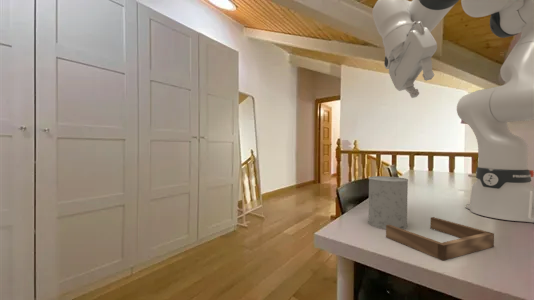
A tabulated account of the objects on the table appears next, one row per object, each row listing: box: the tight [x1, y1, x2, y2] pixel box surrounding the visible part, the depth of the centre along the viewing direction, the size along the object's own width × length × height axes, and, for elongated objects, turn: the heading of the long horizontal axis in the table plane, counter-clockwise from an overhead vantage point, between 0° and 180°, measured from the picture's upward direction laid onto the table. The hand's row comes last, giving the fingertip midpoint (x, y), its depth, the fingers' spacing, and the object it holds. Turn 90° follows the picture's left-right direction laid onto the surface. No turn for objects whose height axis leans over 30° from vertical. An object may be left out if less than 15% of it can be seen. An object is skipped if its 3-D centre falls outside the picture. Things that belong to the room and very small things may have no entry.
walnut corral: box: [385, 216, 495, 261], centre depth 57 cm, size 16×13×3 cm
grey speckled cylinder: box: [367, 175, 409, 230], centre depth 70 cm, size 10×10×12 cm
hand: (422, 88), depth 68 cm, fingers open, 8 cm apart
